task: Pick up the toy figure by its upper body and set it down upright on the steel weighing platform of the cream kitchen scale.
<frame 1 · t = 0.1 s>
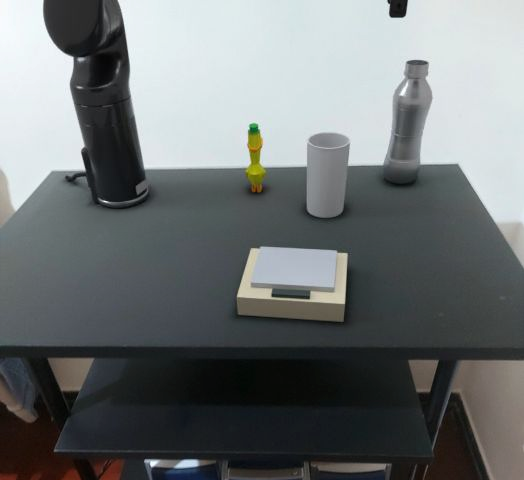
hand: (395, 10, 74), 29 cm above the table, tool pointing down, fingers open, 8 cm apart
scale: (294, 291, 76), on the table
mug: (326, 206, 95), on the table
toy figure: (257, 190, 100), on the table
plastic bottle: (399, 181, 101), on the table
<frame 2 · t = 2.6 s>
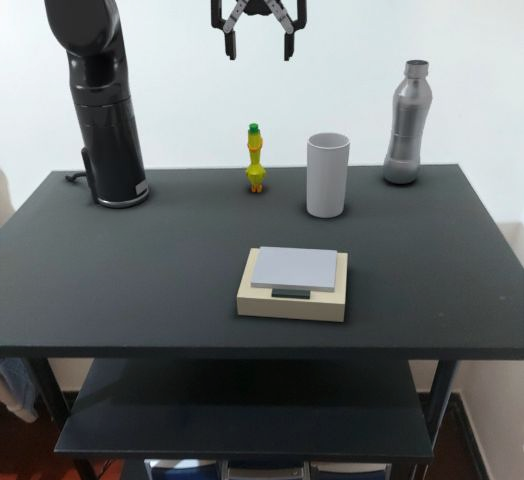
hand: (259, 59, 85), 22 cm above the table, tool pointing down, fingers open, 8 cm apart
nothing on the table moved.
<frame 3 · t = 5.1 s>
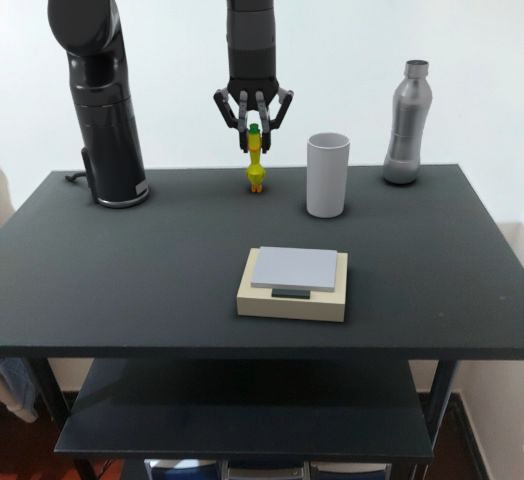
hand: (255, 151, 95), 7 cm above the table, tool pointing down, fingers closed on toy figure, 2 cm apart
toy figure: (256, 190, 100), on the table, touching gripper
everything else where it was.
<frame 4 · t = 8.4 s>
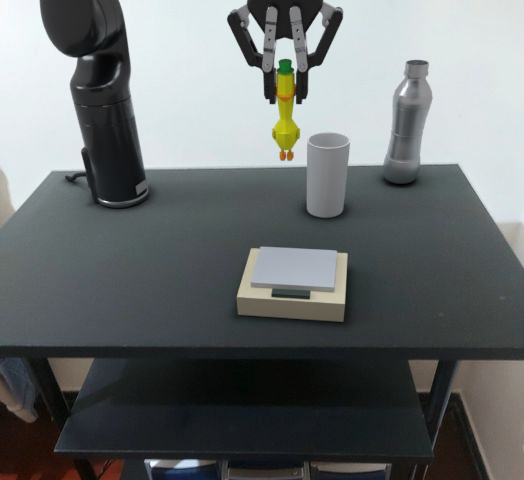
hand: (285, 101, 68), 23 cm above the table, tool pointing down, fingers closed on toy figure, 2 cm apart
toy figure: (286, 158, 72), point 15 cm above the table, touching gripper
everything else where it was.
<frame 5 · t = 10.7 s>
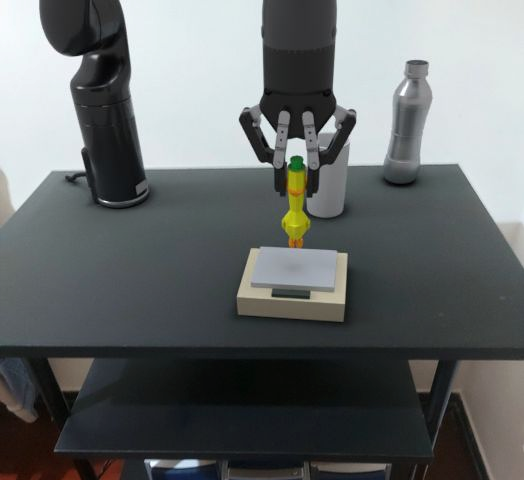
hand: (296, 194, 67), 14 cm above the table, tool pointing down, fingers closed on toy figure, 2 cm apart
toy figure: (296, 244, 72), point 7 cm above the table, touching gripper
everything else where it was.
when the fingers open (11 cm above the table, at t = 11.9 s): toy figure stays where it is, resting on scale.
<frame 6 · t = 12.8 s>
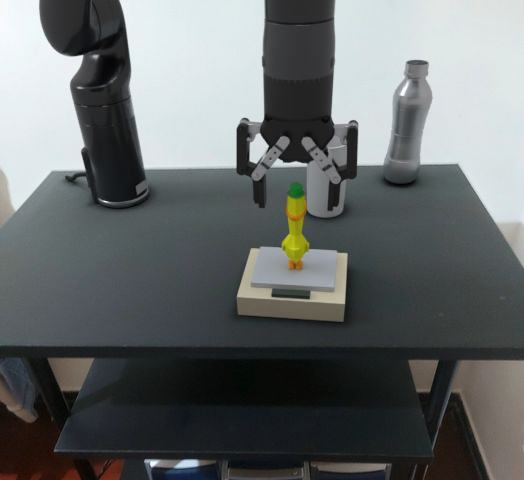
hand: (296, 207, 68), 13 cm above the table, tool pointing down, fingers open, 8 cm apart
toy figure: (295, 266, 74), point 4 cm above the table, touching scale
everything else where it was.
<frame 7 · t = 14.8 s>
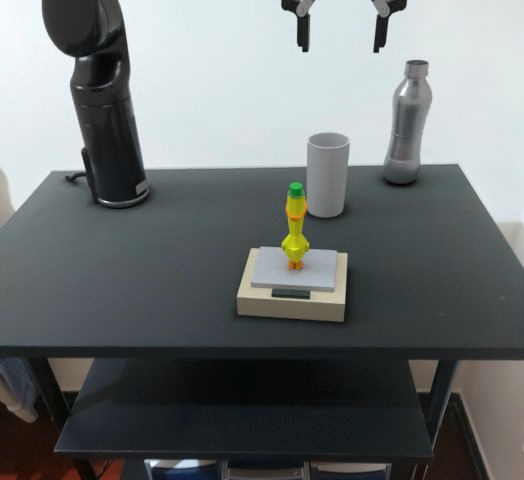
hand: (340, 51, 66), 27 cm above the table, tool pointing down, fingers open, 8 cm apart
nothing on the table moved.
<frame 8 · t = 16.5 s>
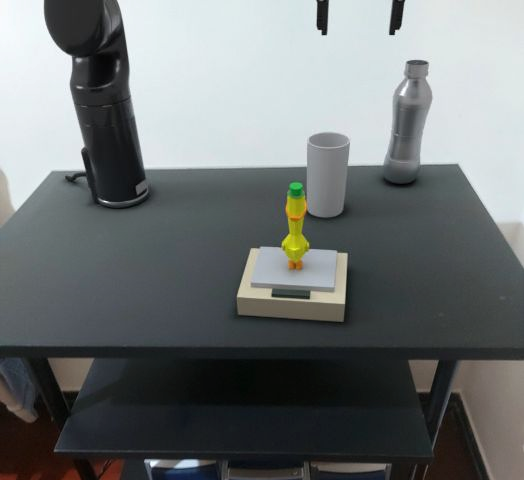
hand: (357, 34, 69), 28 cm above the table, tool pointing down, fingers open, 8 cm apart
nothing on the table moved.
at the end: toy figure inside the target area on the scale (0.2 cm from its centre), point 3.6 cm above the scale's base; toy figure tilted 0°; the gripper is holding nothing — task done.
